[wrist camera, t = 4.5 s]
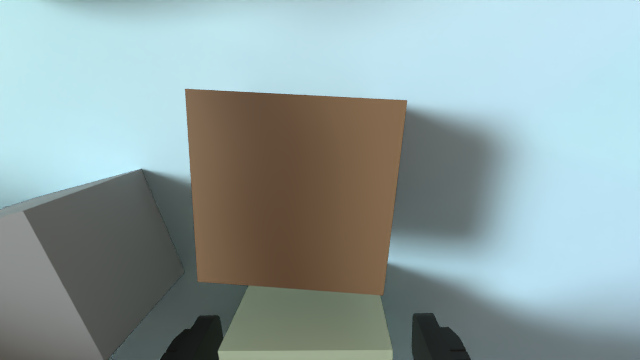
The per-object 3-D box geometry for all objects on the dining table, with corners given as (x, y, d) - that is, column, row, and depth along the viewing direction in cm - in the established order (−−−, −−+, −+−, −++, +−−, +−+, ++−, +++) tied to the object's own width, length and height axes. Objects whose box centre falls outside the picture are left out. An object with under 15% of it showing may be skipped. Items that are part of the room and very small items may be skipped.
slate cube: (142, 168, 13) (22, 210, 8) (185, 270, 14) (105, 362, 9) (40, 195, 13) (-130, 251, 8) (90, 291, 14) (-33, 388, 10)
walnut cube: (377, 100, 11) (407, 100, 7) (365, 221, 13) (383, 295, 8) (247, 93, 12) (184, 89, 7) (248, 213, 13) (197, 281, 8)
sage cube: (371, 258, 13) (392, 349, 8) (372, 350, 14) (391, 476, 10) (259, 261, 13) (217, 351, 9) (271, 351, 15) (239, 474, 10)
